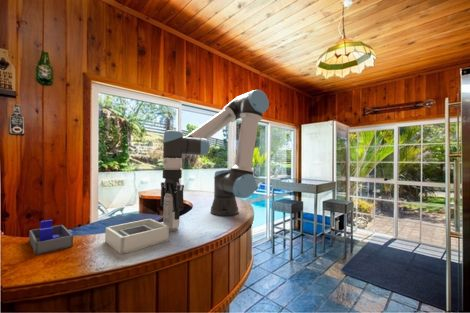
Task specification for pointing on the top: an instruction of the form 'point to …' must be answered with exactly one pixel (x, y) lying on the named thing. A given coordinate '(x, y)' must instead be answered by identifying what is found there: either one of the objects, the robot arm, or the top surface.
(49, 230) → the cable clip
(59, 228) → the clip tray
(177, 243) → the top surface
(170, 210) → the energy drink can
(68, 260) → the top surface
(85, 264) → the top surface
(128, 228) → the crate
